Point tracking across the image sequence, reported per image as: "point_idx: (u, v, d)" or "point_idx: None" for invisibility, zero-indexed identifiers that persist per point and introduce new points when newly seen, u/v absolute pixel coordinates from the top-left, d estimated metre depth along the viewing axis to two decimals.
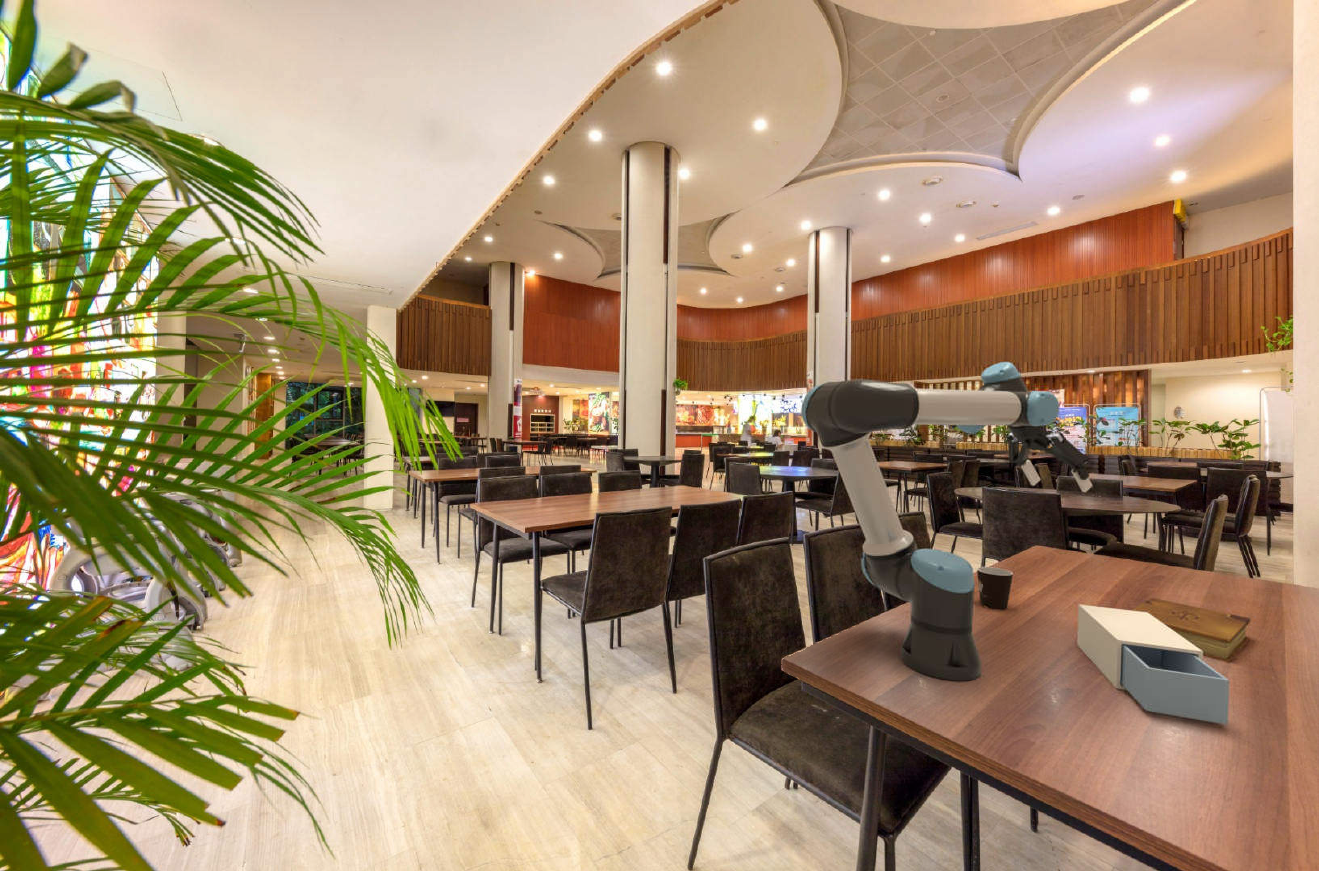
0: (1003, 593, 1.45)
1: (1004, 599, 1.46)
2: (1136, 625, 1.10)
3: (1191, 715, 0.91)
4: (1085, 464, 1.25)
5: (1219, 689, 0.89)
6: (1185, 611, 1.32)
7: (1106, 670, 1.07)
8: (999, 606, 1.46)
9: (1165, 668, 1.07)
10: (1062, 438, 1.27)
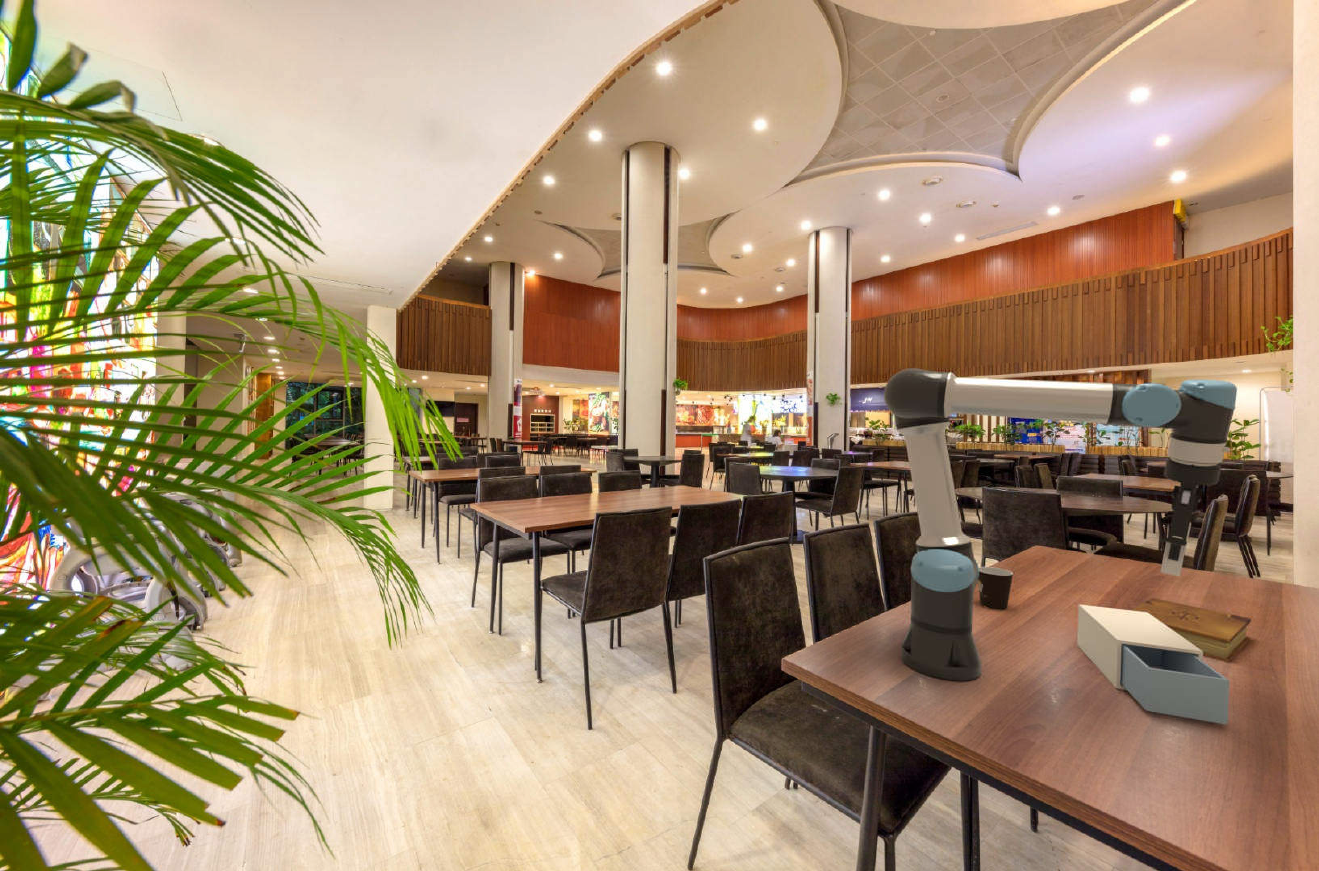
0: (1003, 593, 1.45)
1: (1004, 599, 1.46)
2: (1136, 625, 1.10)
3: (1191, 715, 0.91)
4: (1173, 539, 0.98)
5: (1219, 689, 0.89)
6: (1185, 611, 1.32)
7: (1106, 670, 1.07)
8: (999, 606, 1.46)
9: (1165, 668, 1.07)
10: (1188, 501, 0.98)
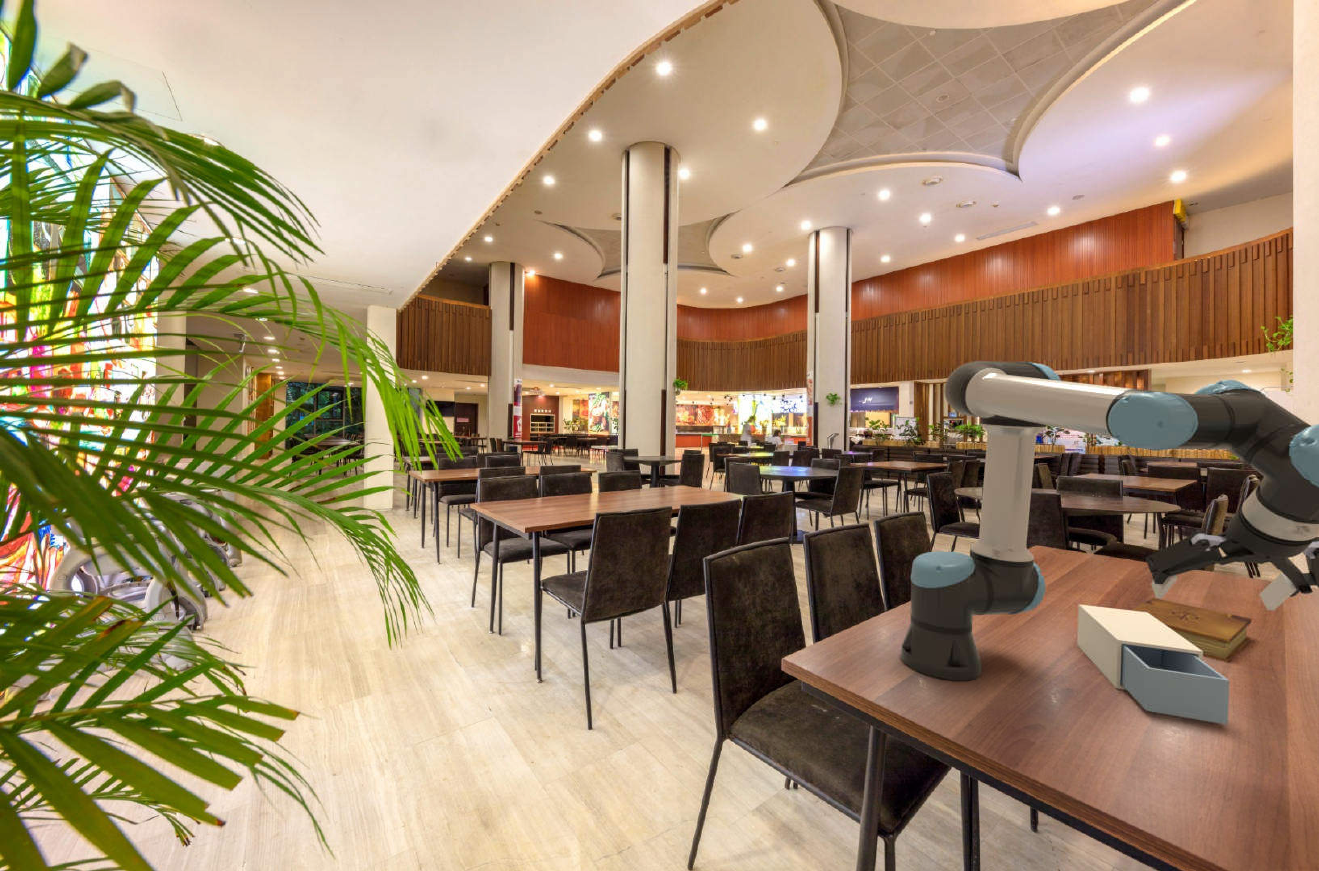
0: None
1: None
2: (1136, 625, 1.10)
3: (1191, 715, 0.91)
4: (1148, 560, 0.84)
5: (1219, 689, 0.89)
6: (1186, 611, 1.32)
7: (1106, 670, 1.07)
8: None
9: (1165, 668, 1.07)
10: (1194, 543, 0.78)
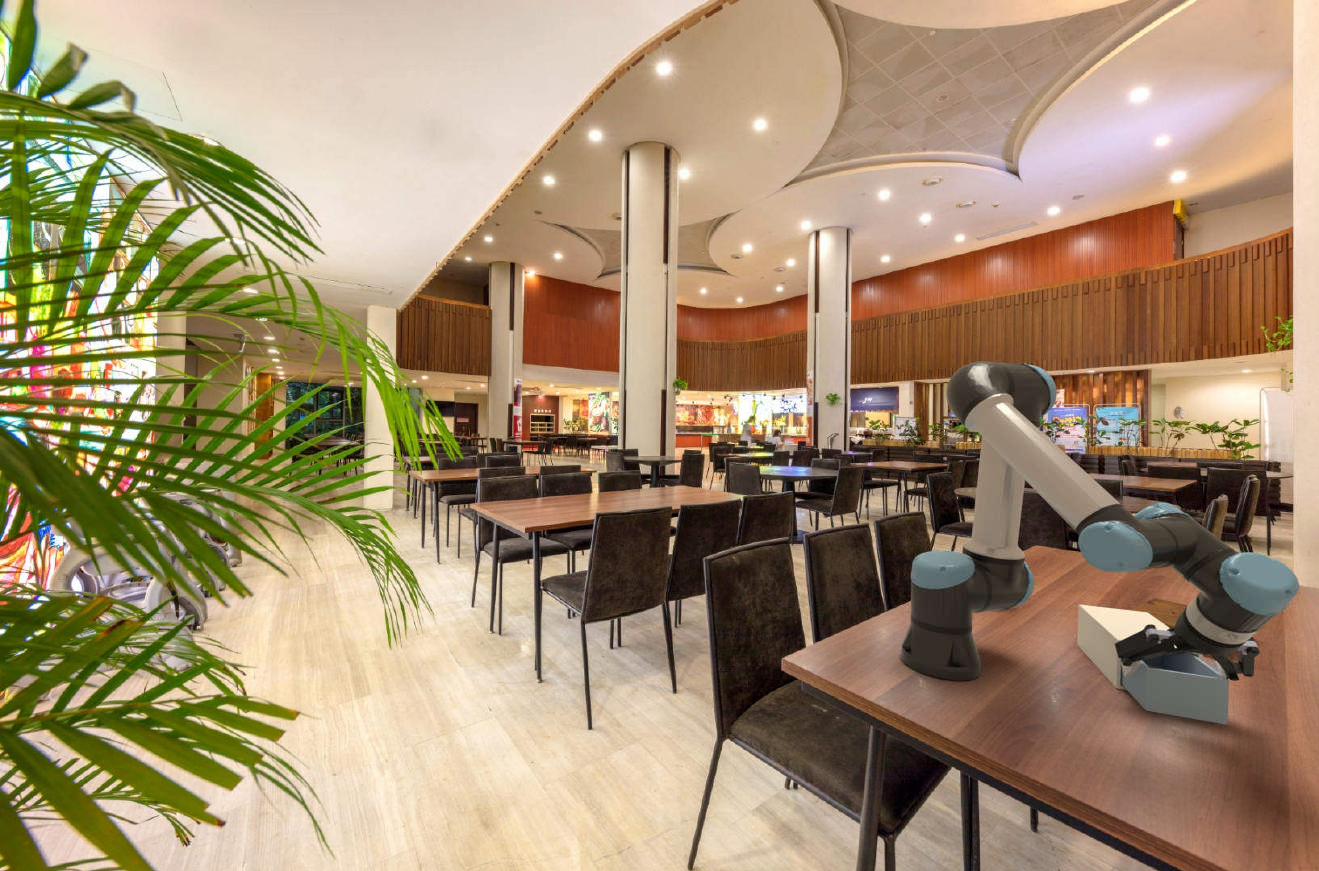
0: None
1: None
2: (1136, 625, 1.10)
3: (1191, 714, 0.91)
4: (1116, 647, 0.97)
5: (1219, 689, 0.89)
6: None
7: (1106, 670, 1.07)
8: None
9: (1165, 668, 1.07)
10: (1147, 637, 0.90)
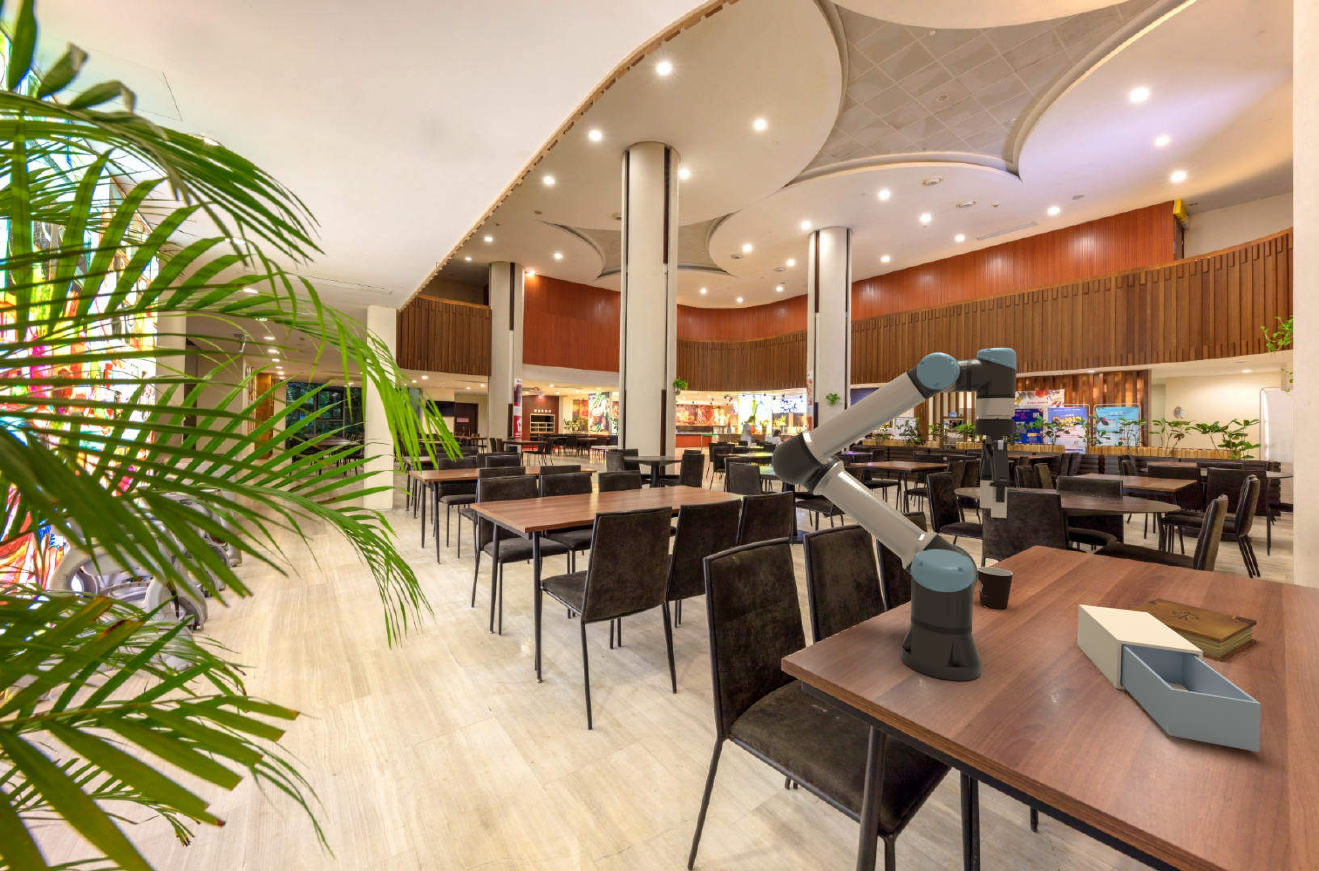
0: (1003, 593, 1.45)
1: (1004, 599, 1.46)
2: (1136, 625, 1.10)
3: (1218, 740, 0.84)
4: (1000, 480, 1.09)
5: (1250, 713, 0.82)
6: (1188, 612, 1.31)
7: (1106, 670, 1.07)
8: (999, 606, 1.46)
9: (1186, 686, 1.00)
10: (1003, 447, 1.11)
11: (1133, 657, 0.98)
